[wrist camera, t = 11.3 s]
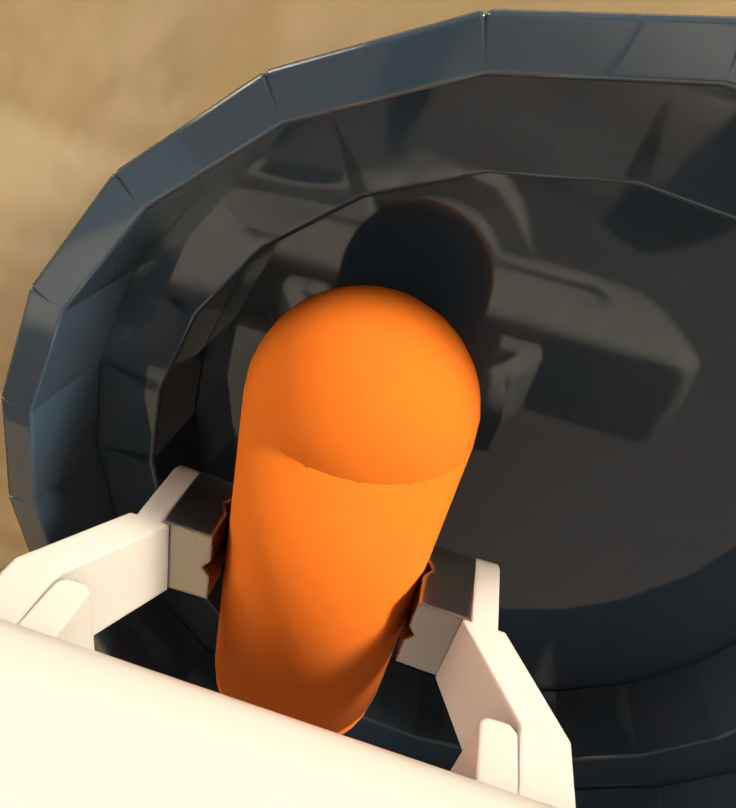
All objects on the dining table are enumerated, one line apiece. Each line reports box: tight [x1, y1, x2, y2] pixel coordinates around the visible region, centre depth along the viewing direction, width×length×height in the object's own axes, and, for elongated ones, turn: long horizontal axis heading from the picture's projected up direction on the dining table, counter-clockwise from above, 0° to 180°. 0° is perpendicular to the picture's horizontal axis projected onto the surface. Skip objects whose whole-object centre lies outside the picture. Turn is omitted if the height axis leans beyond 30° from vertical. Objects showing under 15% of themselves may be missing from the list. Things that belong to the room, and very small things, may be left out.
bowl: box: [2, 9, 736, 808], centre depth 13 cm, size 19×19×5 cm
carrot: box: [215, 285, 481, 735], centre depth 12 cm, size 12×4×4 cm, turn 168°
